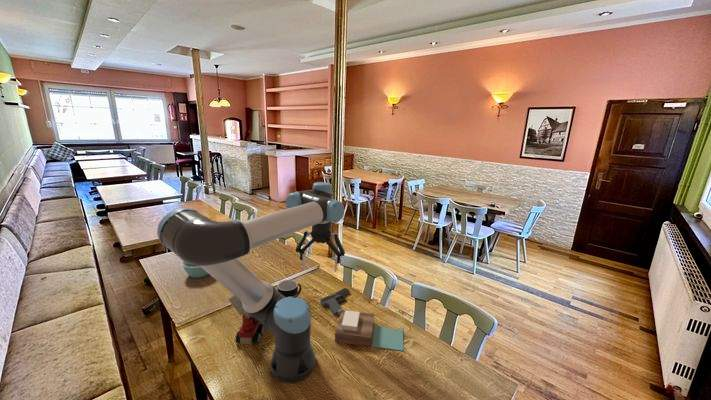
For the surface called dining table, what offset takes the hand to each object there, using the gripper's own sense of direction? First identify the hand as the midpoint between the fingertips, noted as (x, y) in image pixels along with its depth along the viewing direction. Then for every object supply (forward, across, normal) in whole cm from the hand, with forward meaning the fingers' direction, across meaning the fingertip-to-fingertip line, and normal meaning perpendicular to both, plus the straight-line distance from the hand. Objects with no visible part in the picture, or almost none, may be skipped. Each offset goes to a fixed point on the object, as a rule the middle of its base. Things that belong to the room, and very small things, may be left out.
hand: (319, 268), depth 120 cm
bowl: (+23, +69, -25) cm, 77 cm away
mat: (+22, -30, +10) cm, 39 cm away
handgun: (+22, -8, -10) cm, 26 cm away
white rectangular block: (+18, -15, +9) cm, 25 cm away
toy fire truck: (+23, +25, +14) cm, 37 cm away
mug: (+22, +14, -6) cm, 27 cm away
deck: (+22, -17, +9) cm, 29 cm away
